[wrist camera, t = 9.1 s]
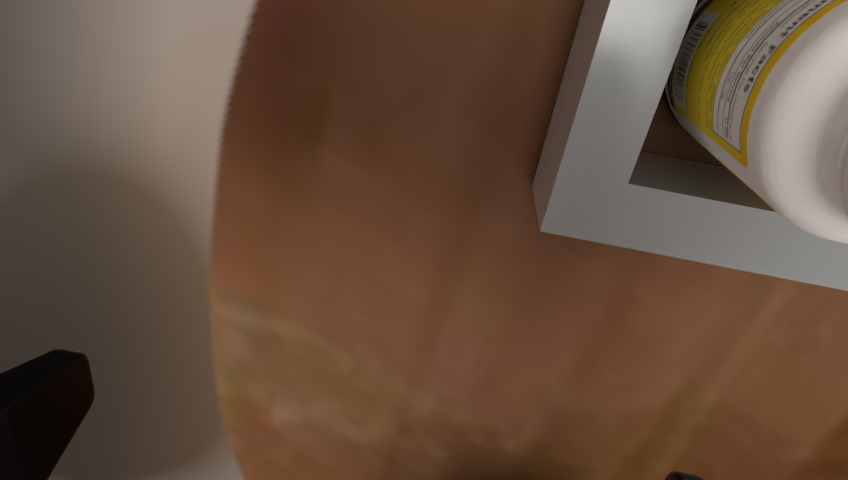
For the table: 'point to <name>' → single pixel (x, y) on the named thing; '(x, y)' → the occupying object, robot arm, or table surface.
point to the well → (654, 160)
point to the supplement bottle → (772, 102)
